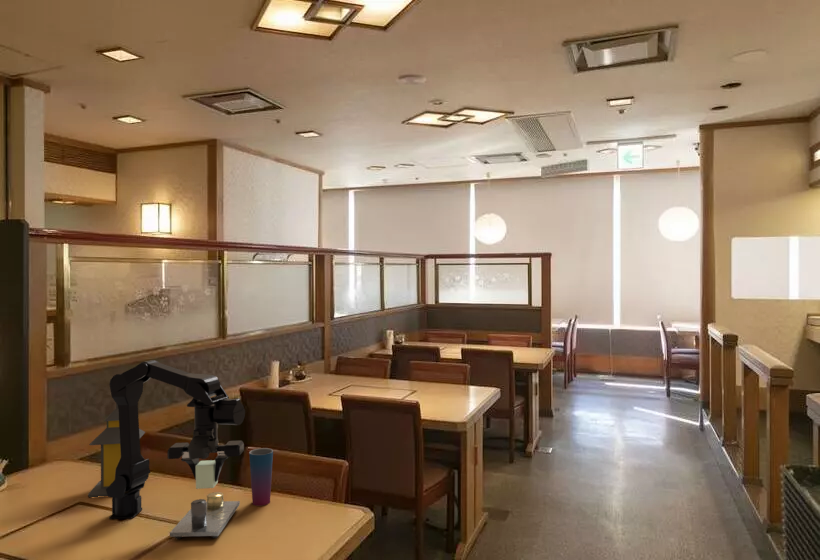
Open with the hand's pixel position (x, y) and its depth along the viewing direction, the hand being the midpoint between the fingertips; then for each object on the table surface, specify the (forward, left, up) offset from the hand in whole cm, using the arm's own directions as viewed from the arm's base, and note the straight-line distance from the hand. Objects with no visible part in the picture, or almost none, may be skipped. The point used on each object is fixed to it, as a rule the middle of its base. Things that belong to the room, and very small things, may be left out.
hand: (207, 481), depth 152 cm
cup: (+11, +15, -12) cm, 22 cm away
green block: (0, 0, -1) cm, 1 cm away
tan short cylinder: (0, +7, -9) cm, 11 cm away
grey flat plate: (0, 0, -11) cm, 11 cm away
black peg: (0, -6, -9) cm, 11 cm away
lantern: (-37, +29, -12) cm, 48 cm away
